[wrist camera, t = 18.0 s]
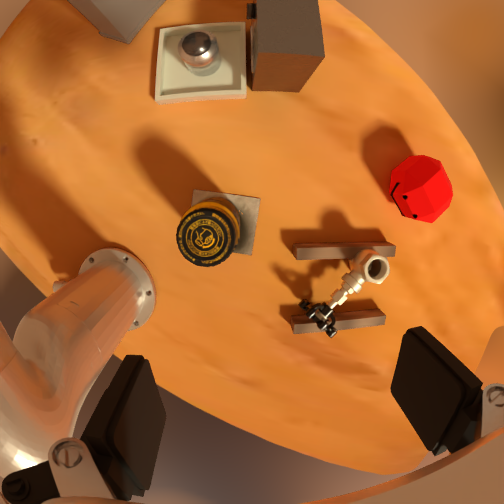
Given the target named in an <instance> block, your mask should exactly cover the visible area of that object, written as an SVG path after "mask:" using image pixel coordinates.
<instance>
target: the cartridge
mask: <svg viewBox="0 0 504 504" xmlns="http://www.w3.org/2000/svg"><path fill="white" fill-rule="evenodd" d="M178 53H179V55H180V56H181V58H182V60H183V61H184V63H185V65H186V66H187V68H188V70H189V71H190V72H191V73H192V74H194V75H196V76H201V77H203V76H209V75H211V74H213V73H215V72H216V71H217V70H218V69H219V67H220V65H221V62H222V59H221V55H220V51H219V47H218V43H217V39H216V37H215V35H214V34H213V33H211V32H209V31H207V30H194V31H191V32H189V33H187V34H186V35H184V36H183V37H182V38H181V40H180V41H179V43H178Z"/></svg>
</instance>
